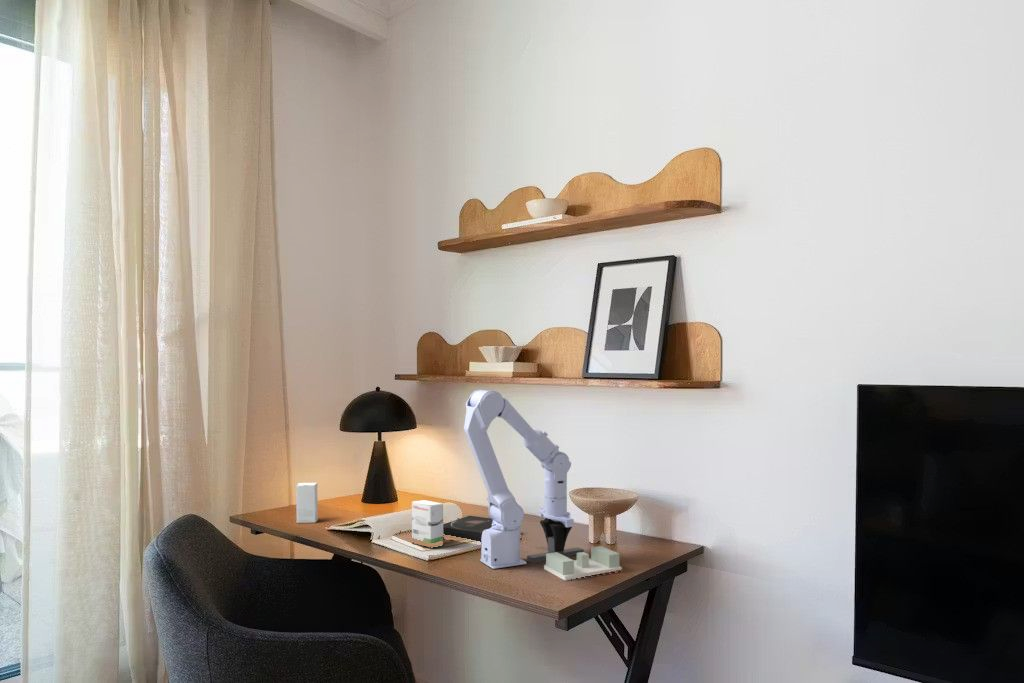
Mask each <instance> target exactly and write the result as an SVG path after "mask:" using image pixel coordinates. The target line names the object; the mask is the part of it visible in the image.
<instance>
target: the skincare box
mask: <svg viewBox="0 0 1024 683" xmlns="http://www.w3.org/2000/svg"><path fill="white" fill-rule="evenodd" d="M295 488H296V489H295V494H296V495H295V498H296V501H295V502H296V509H295V510H296V524H308V523H310V524H312V523H315V524H316V523H317V522H318V520H319V519H318V516H319V514H318V508H319V507H318V506H319V504H318V499H319V498H318V482H299V483H297V484H296V486H295Z"/></svg>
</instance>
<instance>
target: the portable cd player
mask: <svg viewBox="0 0 1024 683" xmlns="http://www.w3.org/2000/svg"><path fill="white" fill-rule="evenodd" d="M492 522H493V519H492V518H491V517H483V516H477V515H467V516H463V517H461V518H459V519H454V520H452V521H449V522H446V523H443V534H445V535H451V536H456V537H461V538H467V539H471V540H476V541H480V542H481V538H482V533H483V531H484V530H486V529H490V528H491V527H492Z"/></svg>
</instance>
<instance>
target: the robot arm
mask: <svg viewBox="0 0 1024 683" xmlns="http://www.w3.org/2000/svg"><path fill="white" fill-rule="evenodd" d="M465 409H466V411H465V412H466V413H465V418H464V419H465V420H464V424H463V431H464V434H465V437H466V439H467V442H468V444H469V447H470V450H471V452H472V455H473V457H474V459H475V463H476V465H477V467H478V470H479V471H478V472H480V475H481V479H482V481H483V483H484V486H485V489H486V490H487V491H486V492H487V497H486V500H487V502H488V515H489V518H491V519H493V522H492V527H491V528H490V529H486V530H484V531H483V533H482V538H481V546H480V547H481V548H480V550H481V554H480V555H481V556H480V559H479V561H480V562H481V563H483V564H484V565H486V566H488V567H490V569H493V570H495V569H500V568H507V567H514V566H522V565H527V561H525V560H524V559H522V558H521V525H522V524H523V522H524V519H525V511H524V509H523V506H521V505H519V504H518V502H517V500H516V498H515V496H514V495H513V493H512V492H511V491H510V489H509V488H508V484H507V482H506V479H505V477H504V474H503V471H502V469H501V467H500V464H499V462H498V458H497V456H496V453H495V450H494V448H493V445H492V443H491V439H490V437H489V435H488V429H489V427H490V425H491V423H492V422H493V421H494V420H495V419H496V418H500V419H503V420H504V421H505V422H506V423H507V424H508V425H509V426H511V428H512V429H513V430H514V431H515V432H517V433H518V434H519V435H520V436H521V437H522V438H523V444H524V447H525V448H526V449H527V450H528V451H529V452H530V453H532V455H533V456H534V457H535V458H536V459H537V460H538V461H539V462H540V465H541V467H542V469H544V507H543V508H539V510H538V511H539V512H538V513H539V516H538V517H543V518H544V519H542V520H539V523H540V526H541V527H542V530H543V532H544V535H545V539H546V544H547V546H548V537H554V546H555V551H556V552H560V551H564V549H565V547H566V543H567V538H568V536H569V533H570V531H571V530H572V528H573V527H574V525H575V524H574V523H575V520H574V518H572V517H571V512H569V511H568V504H567V503H568V494H567V493H568V491H567V490H568V486H567V484H568V482H567V481H568V479H567V478H568V473H569V471H570V469H571V467H572V462H571V461H570V457H569V455H568V454H566V452H564V451H560V450H559V448H560V446H559V445H558V444H554V443H553V441H552V440H550V438H548V432H546V431H543V430H540V429H533V428H532V426H531V425H530V424H529V423H528V422H527V421H526V420H525V418H524V417H523V416H522V414H520V413H519V412H518V411H517V409H516V408H515V407H514V406H513V405H512V404H511V402H510V401H509V400H508V399H507V398H505V397H503V395H502V394H501V393H500V392H498V391H496V390H486V389H482V388H480V389H476V390H474V391H472V392H471V394H470V396H469V398H468V399H467V401H466V402H465Z"/></svg>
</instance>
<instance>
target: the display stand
mask: <svg viewBox="0 0 1024 683" xmlns="http://www.w3.org/2000/svg"><path fill="white" fill-rule="evenodd" d="M543 569H544V570H545V571H546V572H548V573H551V575H554V576H556V577H558V578H559V579H561V580H563V581H564V582H565V581H571V579H572V580H577V579H576V578H578V579H582V578H581V577H584V578H586V577H585V576H591V575H595V574H600V573H605V572H611V571H616V570H621V569H622V570H623V567H622V566H621V565H620V553H619V552H616V551H614V550H611V549H609V548H608V547H605V546H602V545H598V546H591V547H590V554H589V553H588V552H580V553H577V555H576V559H575V560H574V559H571V558H569V556H568V557H566V556H564V555H562V554H560V553H558V552H554V553H547V554H546V560H545V564H544V565H543ZM591 577H592V576H591Z"/></svg>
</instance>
